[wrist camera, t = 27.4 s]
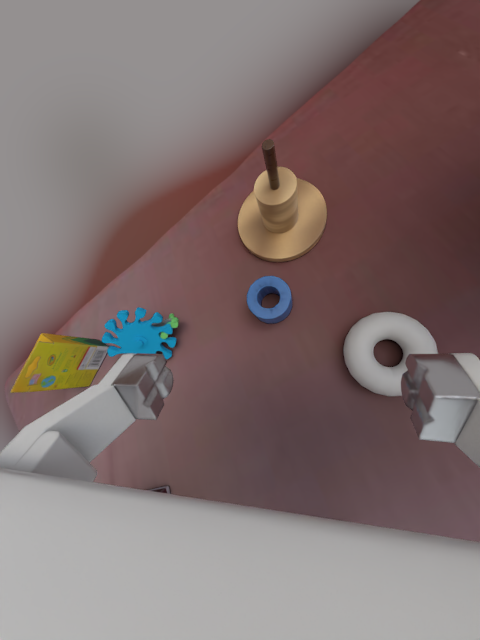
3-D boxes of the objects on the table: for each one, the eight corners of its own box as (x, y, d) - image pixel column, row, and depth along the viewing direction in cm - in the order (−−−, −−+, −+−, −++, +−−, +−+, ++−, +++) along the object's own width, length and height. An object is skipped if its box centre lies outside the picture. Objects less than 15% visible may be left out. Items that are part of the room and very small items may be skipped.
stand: (337, 188, 37) (354, 88, 24) (311, 270, 36) (315, 213, 23) (254, 178, 41) (229, 87, 28) (228, 252, 40) (189, 194, 27)
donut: (410, 305, 32) (331, 326, 34) (423, 298, 29) (334, 321, 31) (443, 384, 30) (356, 403, 32) (461, 386, 27) (362, 407, 28)
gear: (125, 380, 38) (83, 328, 33) (133, 357, 43) (98, 308, 38) (194, 355, 38) (161, 298, 33) (194, 334, 43) (166, 282, 38)
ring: (291, 282, 36) (290, 274, 33) (292, 322, 35) (291, 318, 32) (252, 285, 38) (246, 277, 35) (251, 324, 37) (246, 319, 34)
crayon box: (98, 339, 43) (26, 329, 32) (111, 347, 42) (41, 340, 31) (77, 378, 43) (-4, 382, 32) (89, 387, 42) (10, 394, 31)
